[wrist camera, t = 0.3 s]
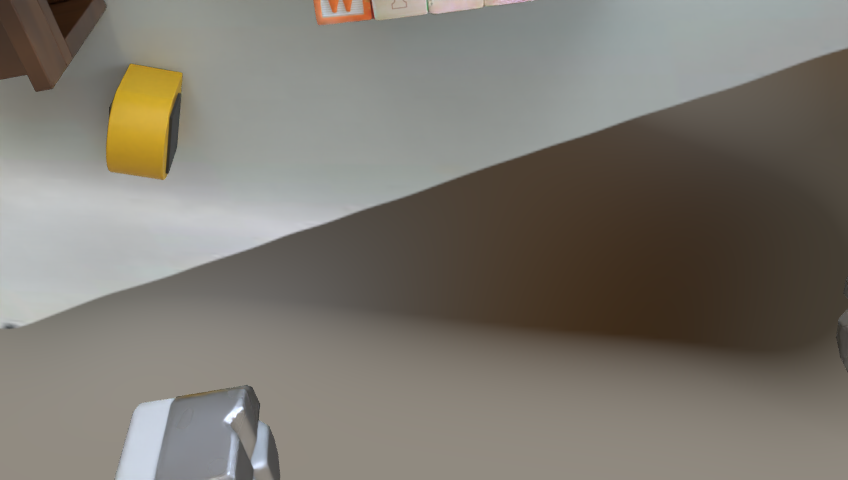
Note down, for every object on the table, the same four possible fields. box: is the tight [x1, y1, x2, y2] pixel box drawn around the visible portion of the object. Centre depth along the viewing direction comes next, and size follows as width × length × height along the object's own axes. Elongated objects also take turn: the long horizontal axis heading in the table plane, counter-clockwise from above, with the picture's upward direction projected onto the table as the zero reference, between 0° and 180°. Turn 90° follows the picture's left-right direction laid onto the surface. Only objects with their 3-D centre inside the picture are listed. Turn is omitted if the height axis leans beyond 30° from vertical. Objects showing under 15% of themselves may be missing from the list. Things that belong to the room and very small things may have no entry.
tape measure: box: [106, 64, 182, 180], centre depth 55 cm, size 7×4×7 cm, turn 166°
